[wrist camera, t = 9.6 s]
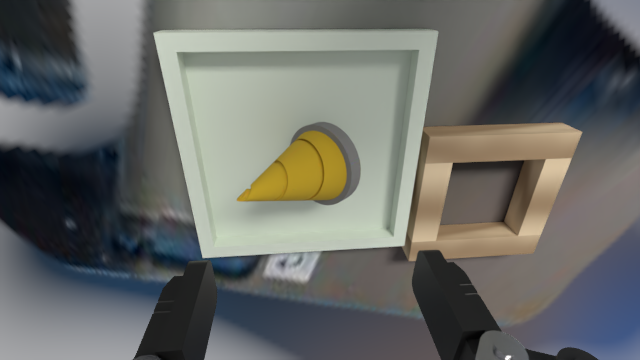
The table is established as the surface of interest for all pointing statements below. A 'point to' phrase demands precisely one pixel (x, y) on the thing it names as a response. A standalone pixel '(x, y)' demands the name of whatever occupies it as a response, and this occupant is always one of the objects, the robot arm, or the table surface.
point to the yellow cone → (310, 169)
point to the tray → (296, 129)
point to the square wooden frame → (479, 146)
